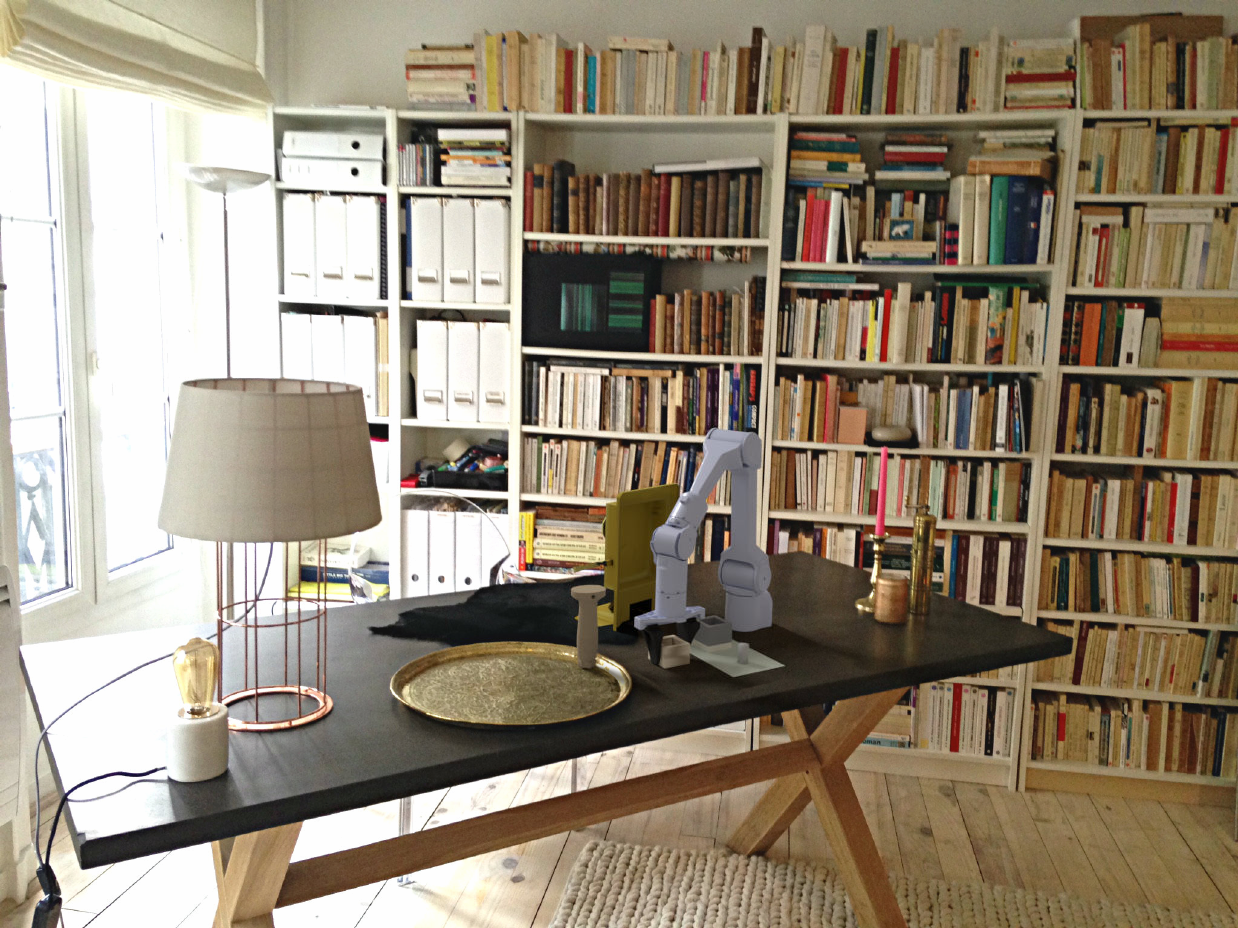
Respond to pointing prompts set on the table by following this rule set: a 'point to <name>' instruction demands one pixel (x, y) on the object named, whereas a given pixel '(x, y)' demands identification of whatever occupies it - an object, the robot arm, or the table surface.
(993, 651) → the table surface
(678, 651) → the birch sleeve
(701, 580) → the table surface
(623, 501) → the yellow recessed panel
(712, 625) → the charcoal sleeve
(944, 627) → the table surface
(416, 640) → the table surface
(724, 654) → the pin board
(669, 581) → the robot arm
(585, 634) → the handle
